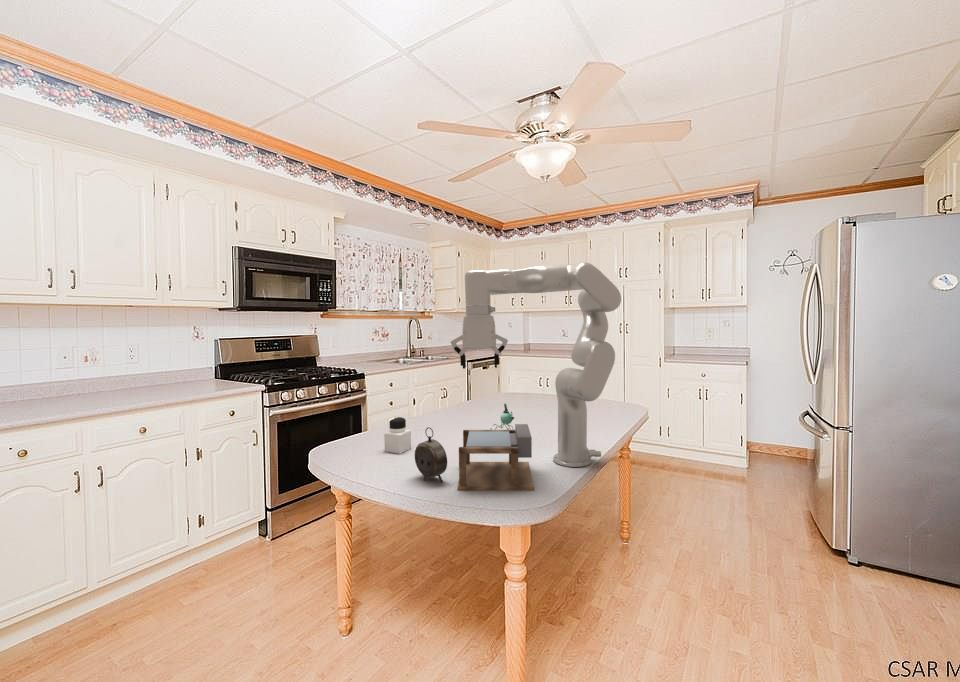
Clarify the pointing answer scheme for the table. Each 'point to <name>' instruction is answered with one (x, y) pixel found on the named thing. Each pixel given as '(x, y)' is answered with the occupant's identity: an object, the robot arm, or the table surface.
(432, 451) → the alarm clock
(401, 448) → the medicine bottle
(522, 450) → the trapdoor
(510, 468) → the frame
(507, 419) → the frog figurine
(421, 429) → the table surface
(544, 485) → the table surface
